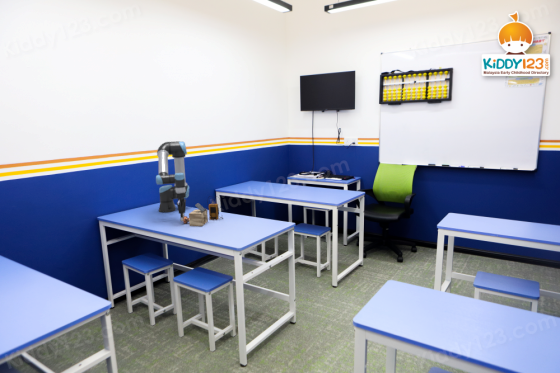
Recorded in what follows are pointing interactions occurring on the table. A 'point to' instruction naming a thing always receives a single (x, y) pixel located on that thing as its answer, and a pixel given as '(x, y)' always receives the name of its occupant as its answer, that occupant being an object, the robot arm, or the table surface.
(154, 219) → the table surface
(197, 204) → the keeper flap
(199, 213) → the hitch block
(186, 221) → the pin
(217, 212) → the multimeter
